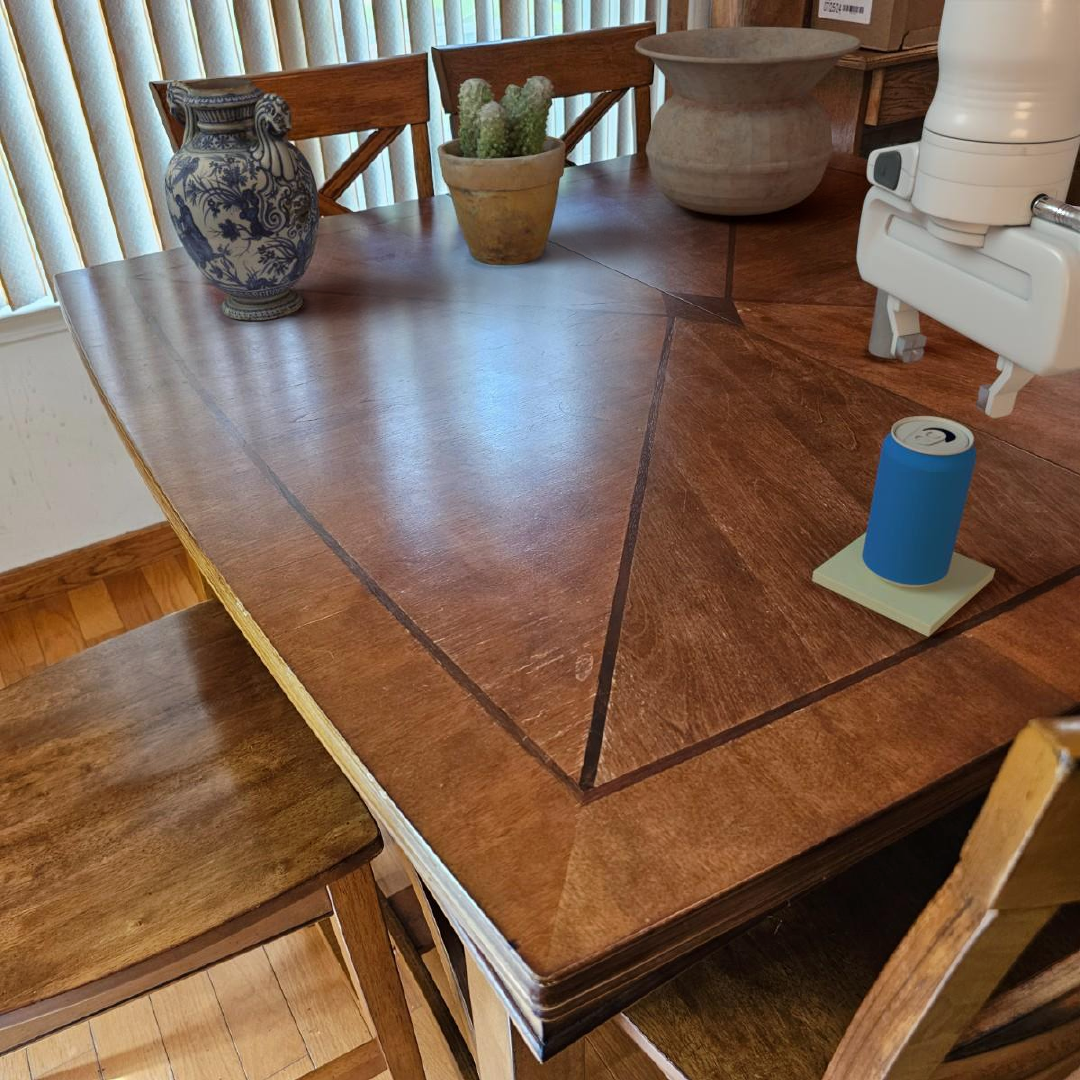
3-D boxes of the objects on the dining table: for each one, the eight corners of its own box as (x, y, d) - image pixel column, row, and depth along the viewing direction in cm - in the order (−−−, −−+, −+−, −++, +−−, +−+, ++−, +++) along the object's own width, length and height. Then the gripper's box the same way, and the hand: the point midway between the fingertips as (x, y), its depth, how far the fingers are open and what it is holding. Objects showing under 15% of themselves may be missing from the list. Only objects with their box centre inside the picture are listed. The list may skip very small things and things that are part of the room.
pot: (752, 252, 145) (769, 66, 131) (589, 209, 167) (589, 46, 153) (879, 203, 164) (906, 36, 150) (718, 170, 185) (728, 21, 171)
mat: (992, 579, 78) (995, 568, 77) (928, 637, 72) (931, 626, 72) (878, 530, 84) (880, 520, 83) (811, 581, 78) (813, 570, 78)
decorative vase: (369, 298, 135) (339, 75, 119) (269, 345, 122) (221, 102, 107) (260, 274, 145) (219, 65, 129) (157, 315, 132) (98, 89, 117)
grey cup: (875, 360, 113) (890, 271, 107) (863, 344, 116) (876, 258, 111) (914, 358, 113) (931, 269, 107) (901, 342, 116) (917, 256, 111)
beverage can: (965, 576, 76) (1000, 439, 70) (905, 603, 74) (935, 464, 67) (902, 537, 81) (929, 405, 74) (843, 561, 79) (866, 427, 72)
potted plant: (432, 271, 143) (414, 85, 129) (463, 233, 158) (450, 62, 144) (556, 275, 140) (552, 84, 126) (576, 235, 155) (573, 61, 141)
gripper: (1169, 215, 53) (1097, 442, 61) (932, 139, 69) (899, 326, 77) (1073, 230, 51) (1012, 461, 59) (854, 149, 68) (828, 338, 75)
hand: (946, 384), depth 68 cm, fingers open, 8 cm apart
